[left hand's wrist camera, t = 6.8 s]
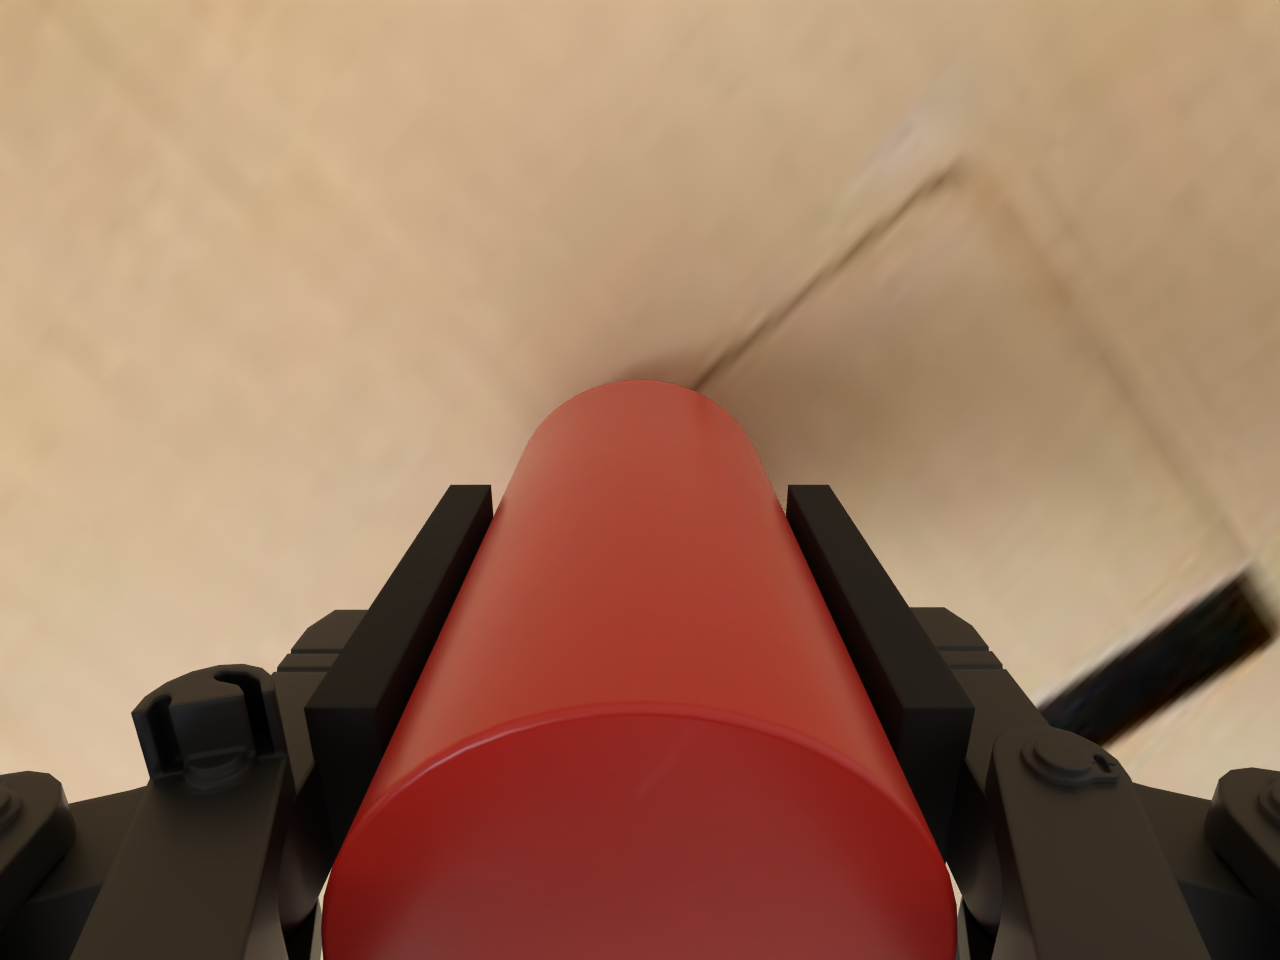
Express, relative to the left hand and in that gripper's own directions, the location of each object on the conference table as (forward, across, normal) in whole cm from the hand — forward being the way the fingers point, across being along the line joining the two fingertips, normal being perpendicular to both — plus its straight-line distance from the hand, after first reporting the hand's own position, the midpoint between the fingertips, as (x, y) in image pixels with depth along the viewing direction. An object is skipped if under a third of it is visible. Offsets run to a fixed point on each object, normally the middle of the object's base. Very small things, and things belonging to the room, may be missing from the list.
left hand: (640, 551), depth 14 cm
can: (+2, 0, 0) cm, 2 cm away
